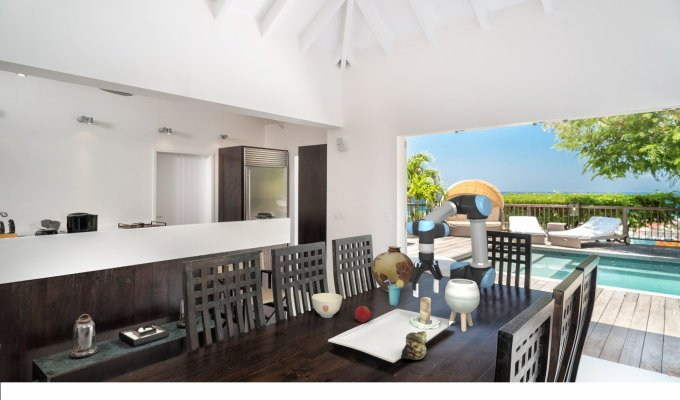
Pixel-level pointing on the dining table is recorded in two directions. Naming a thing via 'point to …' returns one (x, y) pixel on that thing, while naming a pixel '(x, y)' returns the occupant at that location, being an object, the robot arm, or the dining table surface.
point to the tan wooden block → (425, 309)
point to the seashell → (415, 346)
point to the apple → (362, 314)
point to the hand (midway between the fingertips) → (426, 294)
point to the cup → (394, 292)
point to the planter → (462, 299)
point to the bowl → (327, 303)
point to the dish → (416, 323)
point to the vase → (392, 268)
